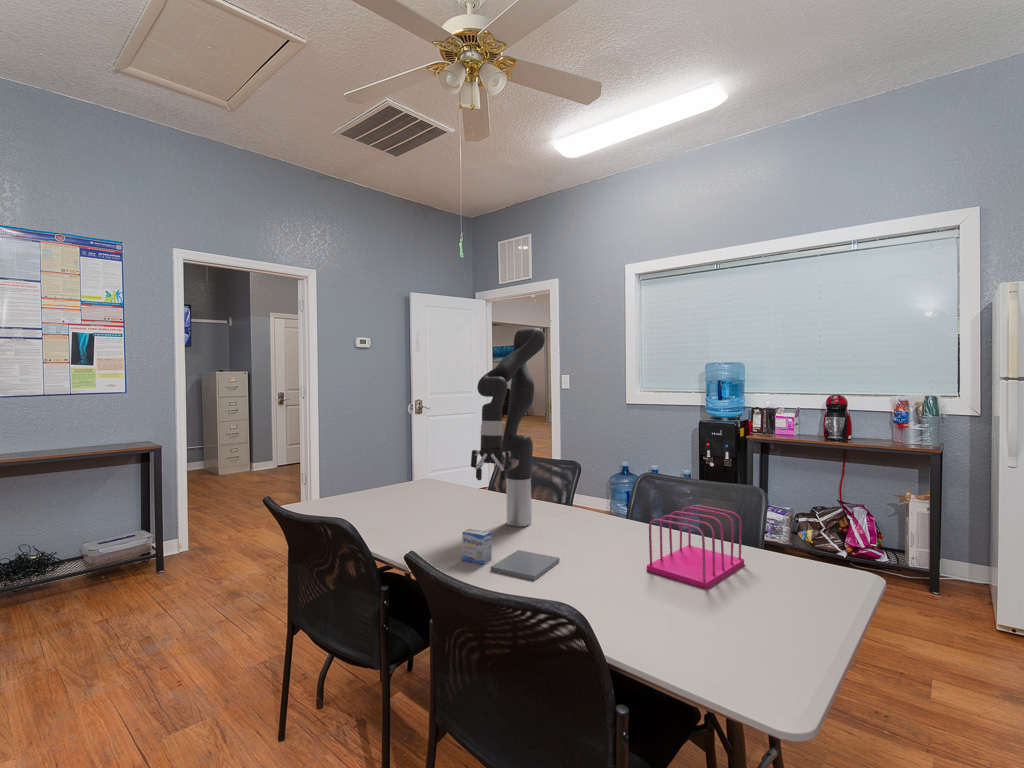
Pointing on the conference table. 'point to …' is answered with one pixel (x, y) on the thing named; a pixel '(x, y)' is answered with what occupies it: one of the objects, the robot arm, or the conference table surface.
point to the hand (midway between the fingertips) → (490, 480)
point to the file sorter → (696, 553)
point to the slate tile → (525, 564)
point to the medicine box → (476, 546)
